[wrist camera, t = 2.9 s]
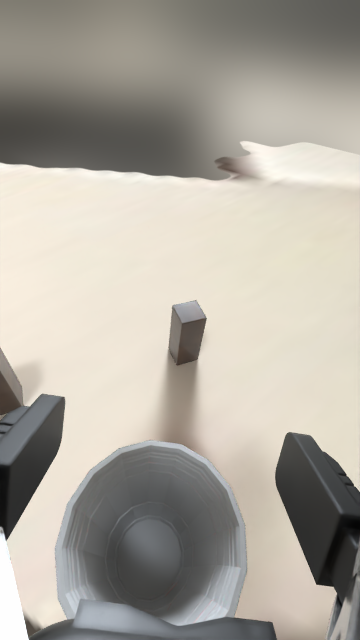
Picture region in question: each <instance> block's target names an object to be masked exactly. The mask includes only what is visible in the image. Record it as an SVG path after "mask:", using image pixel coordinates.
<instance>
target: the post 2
mask: <svg viewBox="0 0 360 640" xmlns="http://www.w3.org/2000/svg"><path fill="white" fill-rule="evenodd" d="M206 319H207V318H206V316H205V314H204V313H203V311H202V309H201V308H200V306H199V304H198V302H197V301H196V300H195V301H190V302H186V303H181V304H177V305H173V307H172V317H171V328H170V338H169V350H170V352H171V354H172V357H173V359H174V361H175V363H176V365H180V364H183V363H187V362H190V361H194V360H197V359H198V356H199V351H200V346H201V342H202V337H203V333H204V328H205V323H206Z"/></svg>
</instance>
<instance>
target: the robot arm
mask: <svg viewBox="0 0 360 640" xmlns="http://www.w3.org/2000/svg"><path fill="white" fill-rule="evenodd" d="M64 410H65V398H64V397H61V396H54V395H48V394H41V395H40V396H39V397H38V398H37V399H36V400H35V402H34V403H33V404H32V405H31V406H30V407H28V406H21V407H19V408H17V409H15V410H13V411H11V412H9V413H7V414H6V415H5V416H4V417H3V418H2V419H1V420H0V640H277V638H276V634H275V631H274V627H273V623H272V622H265V621H257V620H248V619H240V618H232V617H223V618H218V619H213V620H208V621H203V622H198V623H193V624H188V625H183V626H177V625H173V624H171V623H169V622H166V621H164V620H162V619H160V618H157V617H155V616H153V615H151V614H148V613H146V612H144V611H142V610H139V609H137V608H135V607H133V606H130V605H127V604H119V603H111V602H103V601H95V600H87V599H80V601H79V605H78V609H77V612H76V616H75V618H74V619H69V620H64V621H61V622H58V623H55V624H52V625H50V626H48V627H46V628H44V629H42V630H40V631H38V632H36V633H35V634H33V635H31V636H30V637H28V636H27V631H26V627H25V622H24V618H23V614H22V609H21V605H20V601H19V596H18V592H17V587H16V583H15V579H14V574H13V570H12V566H11V561H10V557H9V552H8V548H7V544H6V541H7V539H8V537H9V536H10V534H11V532H12V531H13V529H14V527H15V525H16V524H17V522H18V520H19V518H20V517H21V515H22V513H23V512H24V510H25V508H26V506H27V505H28V503H29V501H30V499H31V498H32V496H33V494H34V493H35V491H36V489H37V487H38V486H39V484H40V482H41V481H42V479H43V477H44V475H45V474H46V472H47V470H48V468H49V467H50V465H51V463H52V462H53V460H54V458H55V456H56V455H57V452H58V450H59V447H60V443H61V439H62V430H63V420H64ZM346 475H347V474H346V473H345V472H344V470H343V469H342V468H341V466H340V465H339V464H338V462H336V461H335V460H334V459H333V458H332V457H330V456H329V455H328V454H327V453H325V452H322V450H321V449H320V448H319V446H318V445H317V443H316V442H315V440H314V439H313V438H312V437H311V436H310V435H305V434H298V433H292V432H289V433H287V435H286V436H285V439H284V443H283V446H282V450H281V453H280V457H279V460H278V464H277V467H276V474H275V480H276V486H277V489H278V492H279V494H280V497H281V499H282V502H283V504H284V506H285V509H286V511H287V514H288V516H289V519H290V521H291V523H292V526H293V528H294V531H295V533H296V536H297V538H298V541H299V543H300V545H301V548H302V550H303V553H304V555H305V558H306V560H307V562H308V565H309V567H310V570H311V572H312V575H313V577H314V580H315V582H316V584H317V585H324V586H332V587H334V588H335V590H336V592H337V595H336V598H335V600H334V603H333V607H332V611H331V615H330V619H329V623H328V628H327V632H326V636H325V640H360V492H359V491H358V489H357V488H356V487H354V484H353V483H352V481H351V480H350V479H349V477H347V476H346Z"/></svg>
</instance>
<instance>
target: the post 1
mask: <svg viewBox="0 0 360 640" xmlns="http://www.w3.org/2000/svg"><path fill="white" fill-rule="evenodd" d="M21 406H23V398H22V386H21V384H20V382H19V380H18V379H17V377H16V375H15V373H14V371H13V370H12V368H11V366H10V364H9V362H8V361H7V359H6V357H5V355H4V353H3V352H2V350H1V348H0V415H2V414H6V413H9V412H11V411H13V410H15V409H17V408H19V407H21Z"/></svg>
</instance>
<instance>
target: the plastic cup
mask: <svg viewBox="0 0 360 640" xmlns="http://www.w3.org/2000/svg"><path fill="white" fill-rule="evenodd" d="M55 560H56V576H57V592H58V600H59V602H60V604H61V607H62V609H63V611H64V613H65V615H66V617H67V619H68V620H69V619H74V618H75V616H76V612H77V609H78V605H79V601H80V599H87V600H95V601H103V602H111V603H119V604H127V605H130V606H133V607H135V608H137V609H139V610H142V611H144V612H146V613H148V614H151V615H153V616H155V617H157V618H160V619H162V620H164V621H166V622H169V623H171V624H173V625H177V626H183V625H188V624H193V623H198V622H203V621H208V620H213V619H218V618H223V617H232V618H234V615H235V612H236V608H237V605H238V601H239V597H240V594H241V590H242V587H243V583H244V580H245V576H246V572H247V556H246V534H245V524H244V521H243V518H242V516H241V513H240V510H239V508H238V505H237V502H236V499H235V497H234V494H233V491H232V489H231V487H230V486H229V484H228V483H227V482H226V481H225V480H224V478H223V477H222V476H221V475H220V473H219V472H218V471H217V470H216V468H215V467H214V466H213V465H212V464H211V462H210V461H209V460H208V459H206V458H204V457H202V456H201V455H199V454H197V453H195V452H194V451H192V450H190V449H189V448H187V447H185V446H183V445H182V444H177V443H169V442H162V441H154V440H148V441H144V442H141V443H137V444H133V445H130V446H126V447H122V448H119V449H117V450H116V451H115V452H113V453H112V454H111V455H109V456H108V457H107V458H105V459H104V460H103V461H101V462H100V463H99V464H97V465H96V466H95V467H93V468H92V469H91V470H90V471H89V472H88V474H87V475H86V477H85V478H84V480H83V481H82V483H81V484H80V486H79V487H78V489H77V490H76V492H75V493H74V495H73V496H72V498H71V499H70V501H69V502H68V504H67V506H66V510H65V514H64V517H63V521H62V525H61V528H60V532H59V535H58V539H57V543H56V546H55Z"/></svg>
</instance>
